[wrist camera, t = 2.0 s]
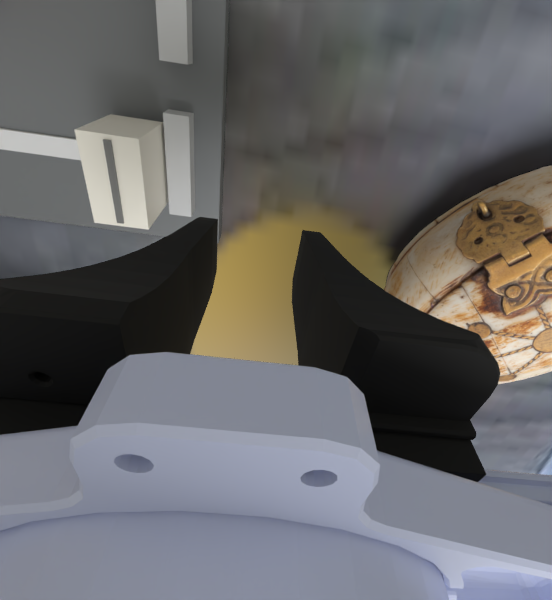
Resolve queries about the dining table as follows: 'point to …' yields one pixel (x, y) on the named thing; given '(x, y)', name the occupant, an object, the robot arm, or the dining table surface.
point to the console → (111, 100)
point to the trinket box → (489, 271)
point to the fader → (124, 169)
